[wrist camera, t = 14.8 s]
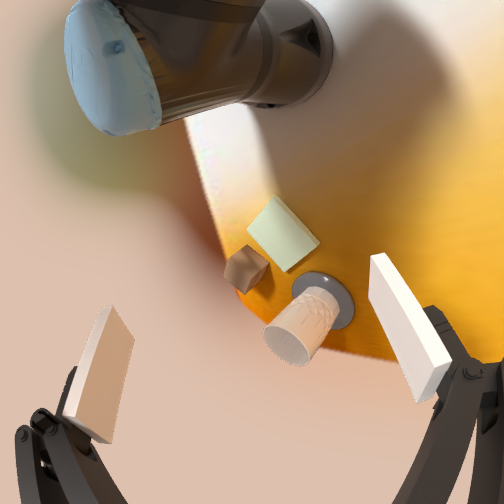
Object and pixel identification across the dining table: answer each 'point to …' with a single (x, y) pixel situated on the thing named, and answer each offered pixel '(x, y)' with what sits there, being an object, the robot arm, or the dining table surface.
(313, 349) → the white cup
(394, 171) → the dining table surface
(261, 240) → the green mat
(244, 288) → the walnut block
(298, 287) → the slate coaster
